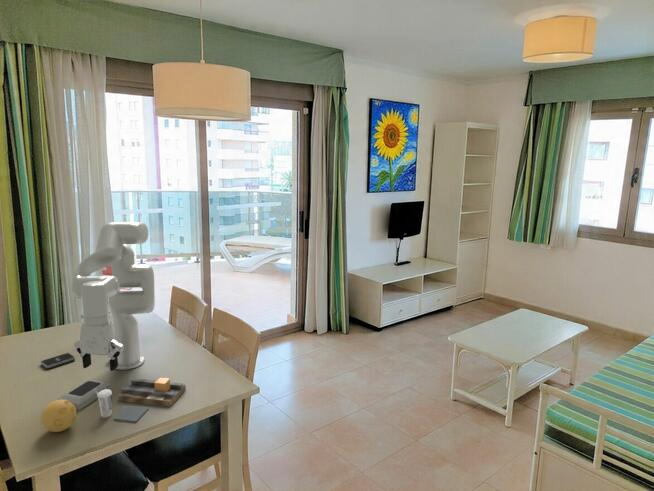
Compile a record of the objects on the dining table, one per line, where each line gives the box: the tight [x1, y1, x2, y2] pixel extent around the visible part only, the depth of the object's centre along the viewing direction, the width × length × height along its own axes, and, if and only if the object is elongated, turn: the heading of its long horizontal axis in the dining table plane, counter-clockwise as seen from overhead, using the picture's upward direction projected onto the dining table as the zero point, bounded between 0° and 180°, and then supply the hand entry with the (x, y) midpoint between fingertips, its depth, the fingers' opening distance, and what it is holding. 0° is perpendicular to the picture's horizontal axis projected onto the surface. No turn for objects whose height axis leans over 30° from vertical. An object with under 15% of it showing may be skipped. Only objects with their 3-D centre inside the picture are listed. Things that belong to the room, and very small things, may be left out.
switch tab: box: [154, 377, 171, 391], centre depth 165 cm, size 4×4×4 cm
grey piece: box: [117, 377, 187, 407], centre depth 167 cm, size 20×12×4 cm, turn 81°
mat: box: [113, 405, 150, 423], centre depth 154 cm, size 8×8×1 cm
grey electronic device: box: [56, 379, 112, 411], centre depth 164 cm, size 10×4×15 cm
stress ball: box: [40, 399, 77, 433], centre depth 144 cm, size 10×10×10 cm
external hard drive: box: [40, 352, 76, 370], centre depth 189 cm, size 7×11×2 cm, turn 141°
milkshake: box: [95, 389, 113, 419], centre depth 153 cm, size 4×5×10 cm
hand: (100, 367), depth 150 cm, fingers open, 9 cm apart
